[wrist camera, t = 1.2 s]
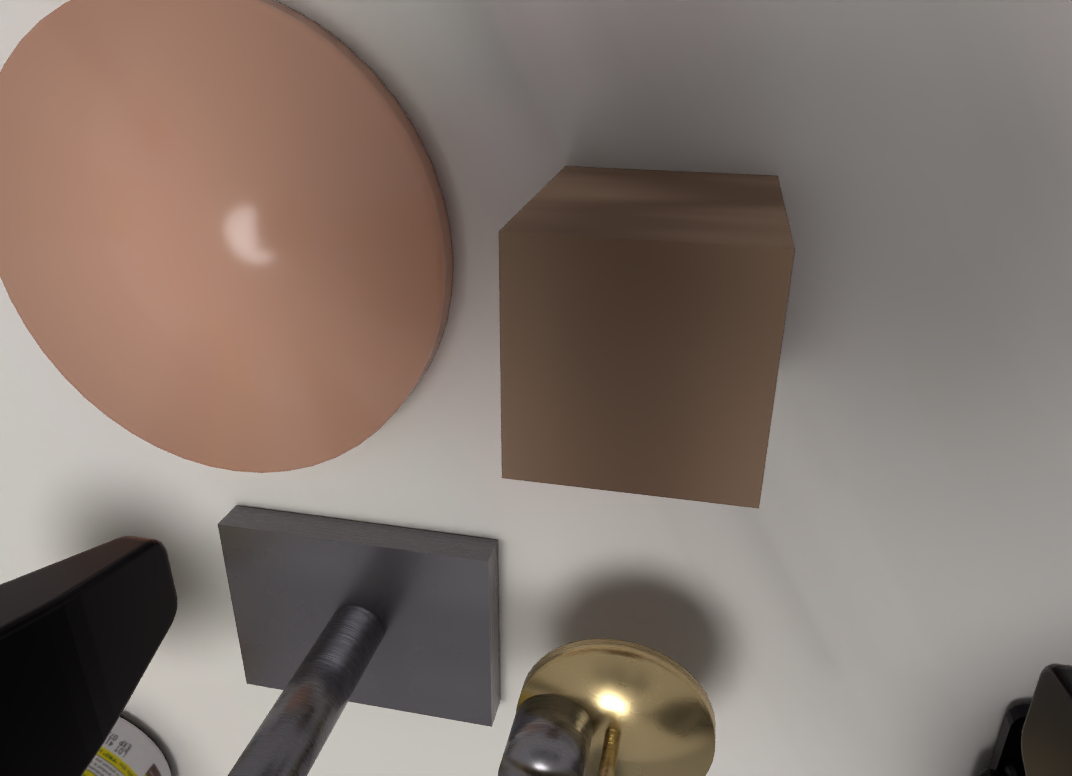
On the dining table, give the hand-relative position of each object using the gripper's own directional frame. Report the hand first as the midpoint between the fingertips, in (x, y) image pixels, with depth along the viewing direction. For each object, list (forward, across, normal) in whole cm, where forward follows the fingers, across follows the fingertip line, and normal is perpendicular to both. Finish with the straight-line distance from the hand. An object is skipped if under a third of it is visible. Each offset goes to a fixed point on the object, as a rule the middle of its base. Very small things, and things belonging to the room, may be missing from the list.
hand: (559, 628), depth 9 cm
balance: (+12, +8, +11) cm, 18 cm away
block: (+12, 0, 0) cm, 12 cm away
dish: (+12, +11, 0) cm, 16 cm away
